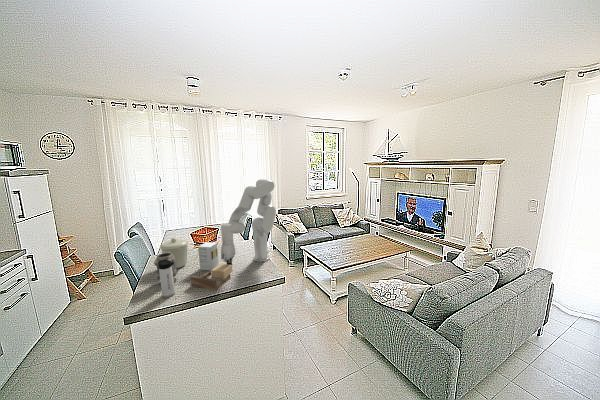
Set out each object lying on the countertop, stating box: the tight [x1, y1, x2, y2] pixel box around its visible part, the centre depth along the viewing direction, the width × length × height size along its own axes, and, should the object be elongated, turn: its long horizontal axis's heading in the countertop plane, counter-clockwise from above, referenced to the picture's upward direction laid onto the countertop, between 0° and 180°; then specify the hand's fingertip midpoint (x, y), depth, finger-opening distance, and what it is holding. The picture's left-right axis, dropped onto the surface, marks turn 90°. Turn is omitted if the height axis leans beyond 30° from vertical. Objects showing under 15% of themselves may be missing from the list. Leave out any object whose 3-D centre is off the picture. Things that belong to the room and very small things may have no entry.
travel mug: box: [158, 260, 176, 299], centre depth 133 cm, size 6×7×20 cm
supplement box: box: [197, 241, 220, 271], centre depth 168 cm, size 10×9×17 cm
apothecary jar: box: [153, 252, 179, 287], centre depth 148 cm, size 12×12×18 cm
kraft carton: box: [210, 263, 233, 279], centre depth 158 cm, size 10×9×5 cm
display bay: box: [189, 270, 231, 292], centre depth 147 cm, size 16×18×6 cm
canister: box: [159, 237, 189, 270], centre depth 171 cm, size 18×18×21 cm
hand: (229, 267), depth 165 cm, fingers closed
